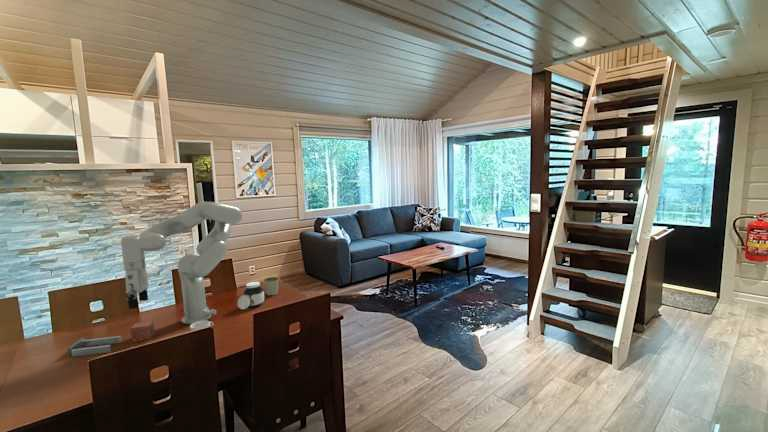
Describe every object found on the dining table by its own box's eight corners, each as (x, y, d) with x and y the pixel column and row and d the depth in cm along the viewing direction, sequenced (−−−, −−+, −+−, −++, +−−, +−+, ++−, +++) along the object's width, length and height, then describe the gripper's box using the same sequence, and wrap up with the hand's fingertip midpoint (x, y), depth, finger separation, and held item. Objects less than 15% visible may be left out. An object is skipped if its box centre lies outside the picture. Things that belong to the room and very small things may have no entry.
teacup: (198, 341, 149) (197, 329, 148) (187, 338, 152) (185, 326, 152) (219, 331, 158) (218, 320, 157) (207, 328, 161) (206, 317, 161)
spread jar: (266, 301, 194) (264, 280, 192) (259, 309, 182) (258, 287, 181) (243, 302, 193) (242, 281, 192) (236, 310, 182) (234, 288, 180)
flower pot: (260, 296, 202) (259, 281, 201) (268, 290, 212) (267, 276, 210) (275, 296, 201) (274, 282, 200) (283, 291, 210) (282, 277, 209)
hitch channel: (121, 341, 151) (120, 333, 151) (109, 352, 142) (108, 343, 142) (83, 346, 148) (81, 338, 148) (68, 357, 139) (67, 348, 139)
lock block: (155, 334, 158) (153, 321, 157) (150, 339, 153) (148, 325, 152) (137, 336, 156) (135, 323, 155) (132, 341, 151) (130, 328, 151)
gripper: (135, 269, 143) (139, 310, 145) (152, 259, 160) (156, 296, 162) (114, 270, 141) (118, 312, 143) (133, 261, 158) (137, 298, 160)
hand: (138, 304), depth 152 cm, fingers open, 9 cm apart
